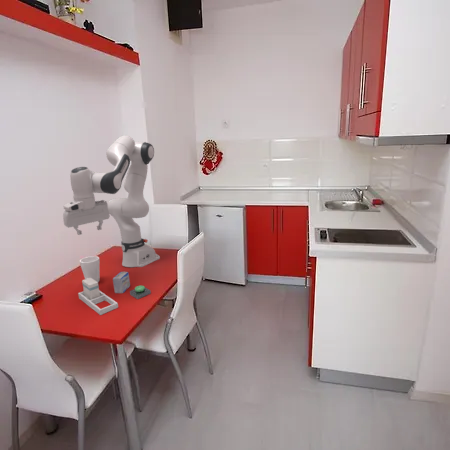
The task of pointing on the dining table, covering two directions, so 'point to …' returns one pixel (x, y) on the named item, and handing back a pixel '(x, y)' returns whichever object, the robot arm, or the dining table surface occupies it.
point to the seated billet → (91, 288)
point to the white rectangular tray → (97, 300)
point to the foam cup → (90, 267)
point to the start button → (139, 288)
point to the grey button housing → (141, 294)
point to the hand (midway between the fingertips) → (89, 232)
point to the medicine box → (121, 282)
